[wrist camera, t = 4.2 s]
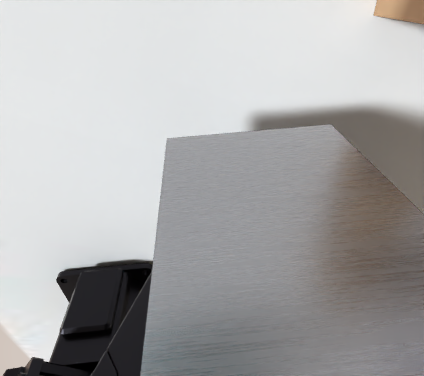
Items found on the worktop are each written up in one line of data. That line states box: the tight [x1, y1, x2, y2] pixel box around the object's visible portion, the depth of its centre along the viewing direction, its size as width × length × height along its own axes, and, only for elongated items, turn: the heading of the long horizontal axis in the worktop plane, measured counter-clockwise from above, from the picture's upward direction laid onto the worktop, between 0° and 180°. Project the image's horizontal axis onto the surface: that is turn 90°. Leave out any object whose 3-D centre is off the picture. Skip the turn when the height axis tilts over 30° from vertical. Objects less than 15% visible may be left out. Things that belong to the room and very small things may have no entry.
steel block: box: [140, 124, 424, 376], centre depth 8 cm, size 6×6×10 cm
